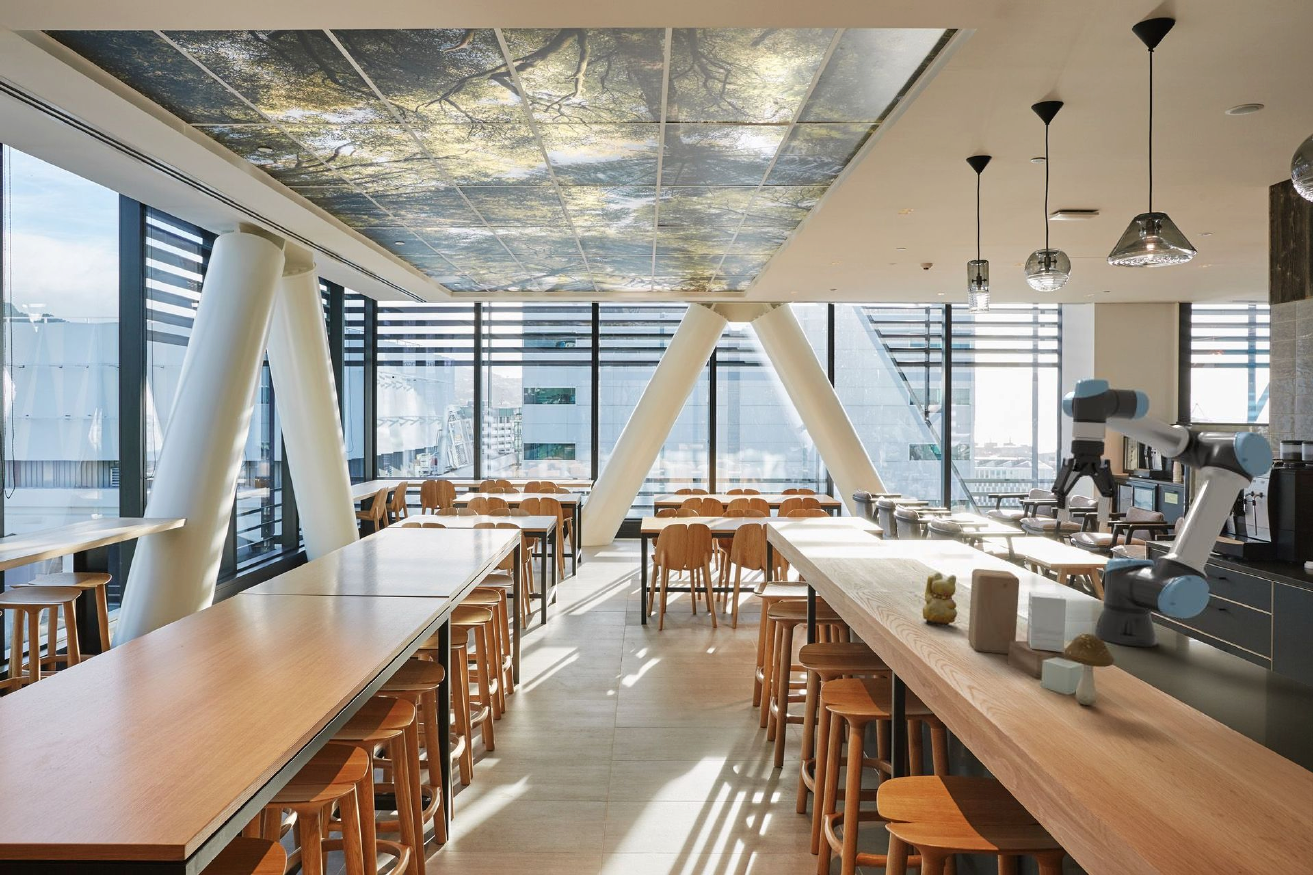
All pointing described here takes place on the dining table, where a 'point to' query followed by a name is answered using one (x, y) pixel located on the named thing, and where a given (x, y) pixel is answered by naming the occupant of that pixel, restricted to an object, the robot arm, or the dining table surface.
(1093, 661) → the mushroom
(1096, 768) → the dining table surface
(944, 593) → the decorative figurine
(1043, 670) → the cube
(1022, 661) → the base block
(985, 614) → the wooden block
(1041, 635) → the supplement box
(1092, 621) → the dining table surface
